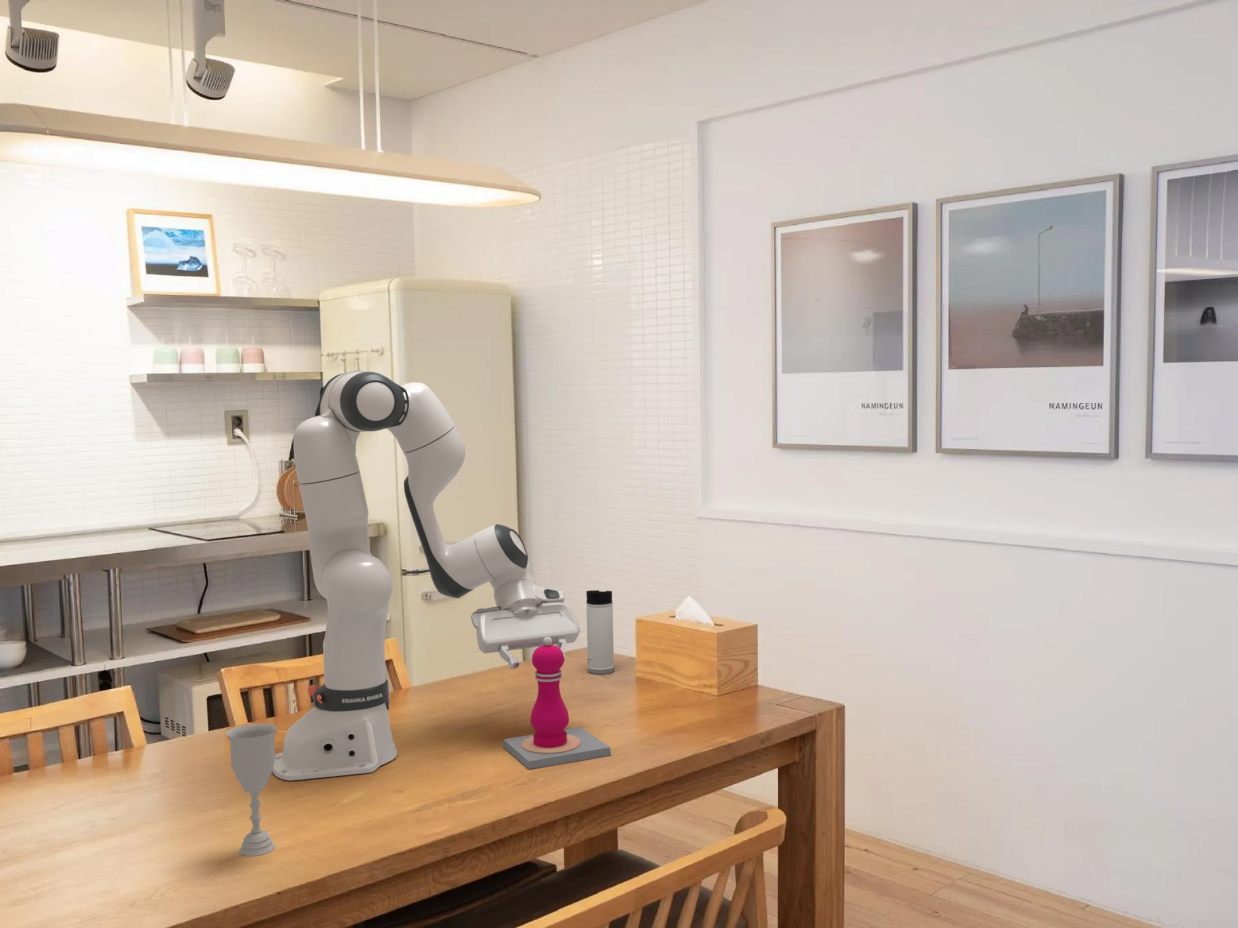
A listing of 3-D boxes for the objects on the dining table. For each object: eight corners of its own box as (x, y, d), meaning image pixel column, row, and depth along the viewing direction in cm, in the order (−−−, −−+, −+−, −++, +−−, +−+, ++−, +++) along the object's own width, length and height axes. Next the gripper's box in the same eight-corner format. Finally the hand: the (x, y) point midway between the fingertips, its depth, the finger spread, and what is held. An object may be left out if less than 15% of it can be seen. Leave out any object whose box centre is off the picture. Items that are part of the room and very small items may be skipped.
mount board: (529, 769, 196) (528, 759, 196) (503, 746, 208) (503, 737, 208) (610, 755, 203) (610, 745, 202) (580, 734, 215) (580, 725, 215)
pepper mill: (568, 748, 201) (565, 640, 200) (528, 748, 201) (525, 641, 200) (570, 736, 208) (568, 632, 207) (533, 736, 209) (530, 632, 207)
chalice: (287, 838, 167) (283, 722, 166) (275, 857, 161) (270, 737, 159) (239, 840, 167) (234, 724, 166) (225, 859, 160) (219, 738, 159)
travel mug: (583, 674, 261) (582, 590, 259) (592, 667, 267) (590, 585, 266) (609, 675, 259) (607, 591, 257) (617, 668, 265) (615, 586, 264)
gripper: (472, 600, 211) (489, 661, 203) (570, 590, 219) (591, 648, 211) (465, 619, 215) (482, 679, 207) (562, 608, 224) (582, 666, 216)
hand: (538, 664), depth 209 cm, fingers open, 8 cm apart
